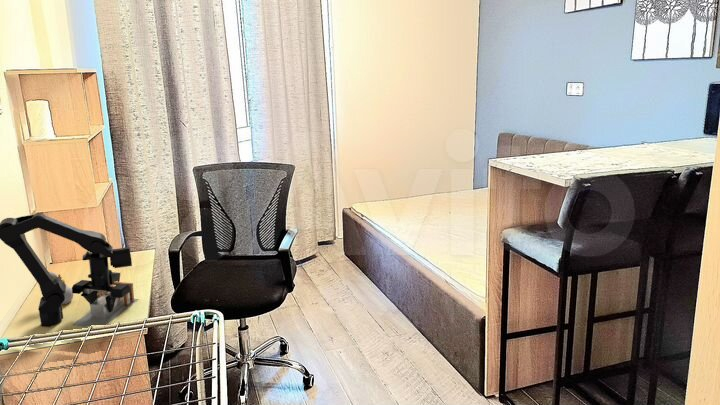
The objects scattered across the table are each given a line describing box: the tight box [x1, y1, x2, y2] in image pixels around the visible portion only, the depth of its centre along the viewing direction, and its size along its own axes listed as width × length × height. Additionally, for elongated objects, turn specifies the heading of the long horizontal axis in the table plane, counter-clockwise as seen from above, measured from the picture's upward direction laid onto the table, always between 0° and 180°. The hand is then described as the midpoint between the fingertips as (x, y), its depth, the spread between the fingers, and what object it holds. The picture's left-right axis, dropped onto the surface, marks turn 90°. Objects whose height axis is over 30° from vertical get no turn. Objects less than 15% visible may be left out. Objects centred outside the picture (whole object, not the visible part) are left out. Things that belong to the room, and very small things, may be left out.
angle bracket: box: [111, 281, 135, 302], centre depth 188 cm, size 1×9×7 cm, turn 82°
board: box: [71, 298, 140, 328], centre depth 181 cm, size 22×11×1 cm, turn 172°
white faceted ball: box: [48, 271, 74, 306], centre depth 185 cm, size 8×10×12 cm
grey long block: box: [89, 292, 130, 319], centre depth 182 cm, size 15×5×5 cm, turn 172°
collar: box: [103, 285, 129, 306], centre depth 185 cm, size 1×9×7 cm, turn 82°
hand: (103, 311), depth 179 cm, fingers closed on grey long block, 5 cm apart
